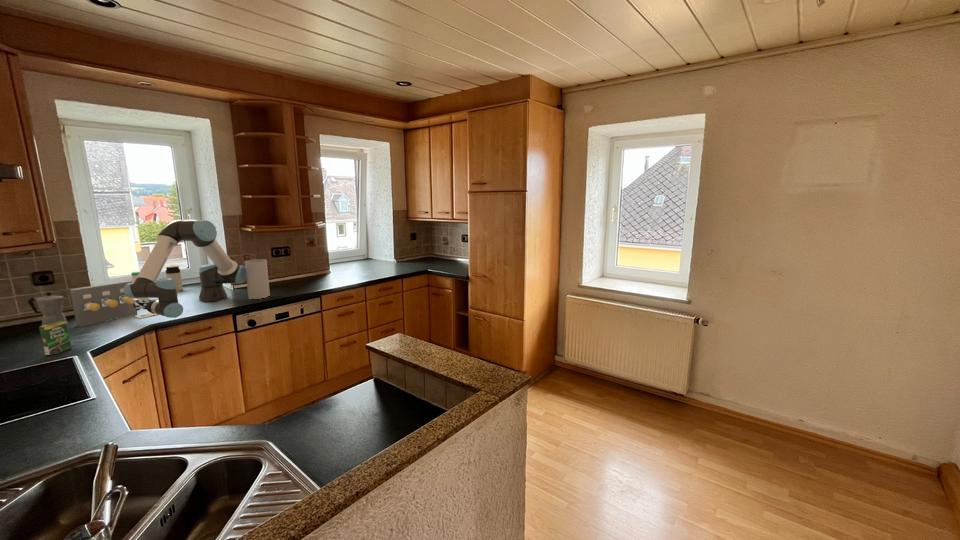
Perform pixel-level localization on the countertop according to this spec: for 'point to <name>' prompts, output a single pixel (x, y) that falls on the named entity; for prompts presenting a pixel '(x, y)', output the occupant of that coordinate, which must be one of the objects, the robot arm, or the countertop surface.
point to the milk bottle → (134, 276)
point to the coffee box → (55, 337)
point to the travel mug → (174, 275)
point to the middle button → (110, 303)
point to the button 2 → (126, 299)
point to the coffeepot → (49, 308)
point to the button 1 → (91, 306)
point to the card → (145, 315)
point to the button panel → (100, 303)
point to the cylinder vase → (257, 278)
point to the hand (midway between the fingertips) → (133, 301)
